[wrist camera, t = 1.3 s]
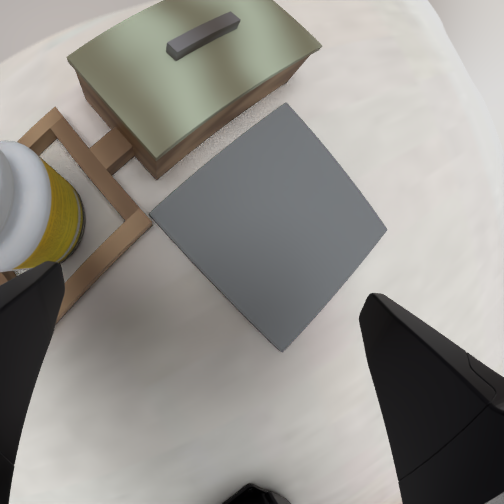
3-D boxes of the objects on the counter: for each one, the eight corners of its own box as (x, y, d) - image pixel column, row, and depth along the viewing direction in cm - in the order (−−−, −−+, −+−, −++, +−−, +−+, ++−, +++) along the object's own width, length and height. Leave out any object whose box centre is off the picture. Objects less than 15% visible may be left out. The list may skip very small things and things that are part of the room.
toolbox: (46, 334, 18) (7, 363, 12) (-35, 221, 16) (-87, 210, 10) (305, 99, 25) (348, 59, 18) (219, 16, 23) (240, -36, 16)
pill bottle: (97, 188, 20) (45, 122, 9) (75, 278, 19) (-1, 297, 8) (24, 170, 18) (-58, 109, 7) (2, 255, 18) (-98, 253, 6)
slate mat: (279, 350, 24) (282, 352, 23) (149, 214, 21) (148, 213, 20) (383, 230, 27) (387, 229, 26) (283, 105, 24) (286, 102, 24)
